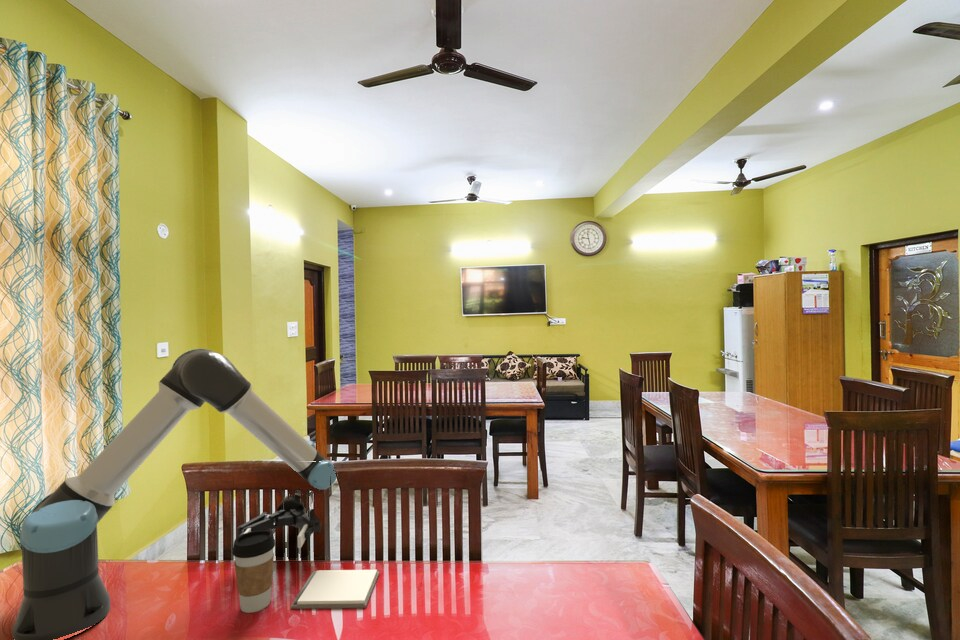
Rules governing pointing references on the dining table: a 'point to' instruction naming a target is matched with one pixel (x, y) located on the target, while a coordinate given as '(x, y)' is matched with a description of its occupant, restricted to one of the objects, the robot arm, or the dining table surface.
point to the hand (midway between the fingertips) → (269, 544)
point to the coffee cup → (254, 569)
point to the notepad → (336, 589)
